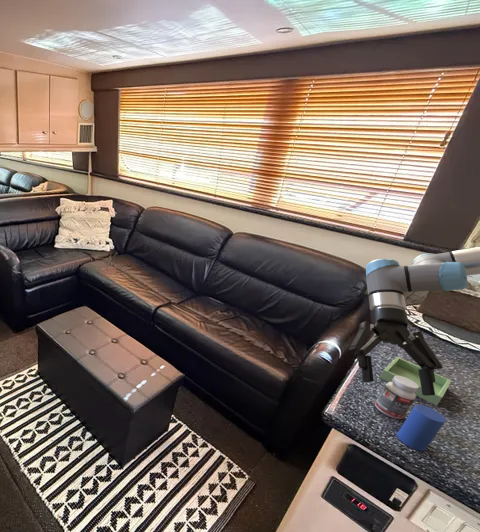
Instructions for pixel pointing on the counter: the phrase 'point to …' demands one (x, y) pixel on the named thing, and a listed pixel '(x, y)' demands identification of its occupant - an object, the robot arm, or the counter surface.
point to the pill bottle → (397, 397)
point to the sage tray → (415, 378)
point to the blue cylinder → (420, 427)
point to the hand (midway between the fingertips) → (397, 388)
